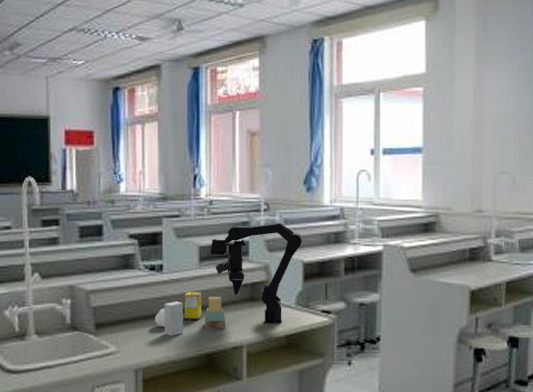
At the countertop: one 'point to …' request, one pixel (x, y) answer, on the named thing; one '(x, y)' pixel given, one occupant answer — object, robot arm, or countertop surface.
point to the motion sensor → (160, 318)
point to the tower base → (215, 324)
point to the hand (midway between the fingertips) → (235, 292)
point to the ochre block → (214, 304)
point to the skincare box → (173, 318)
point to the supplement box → (192, 305)
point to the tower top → (215, 315)
